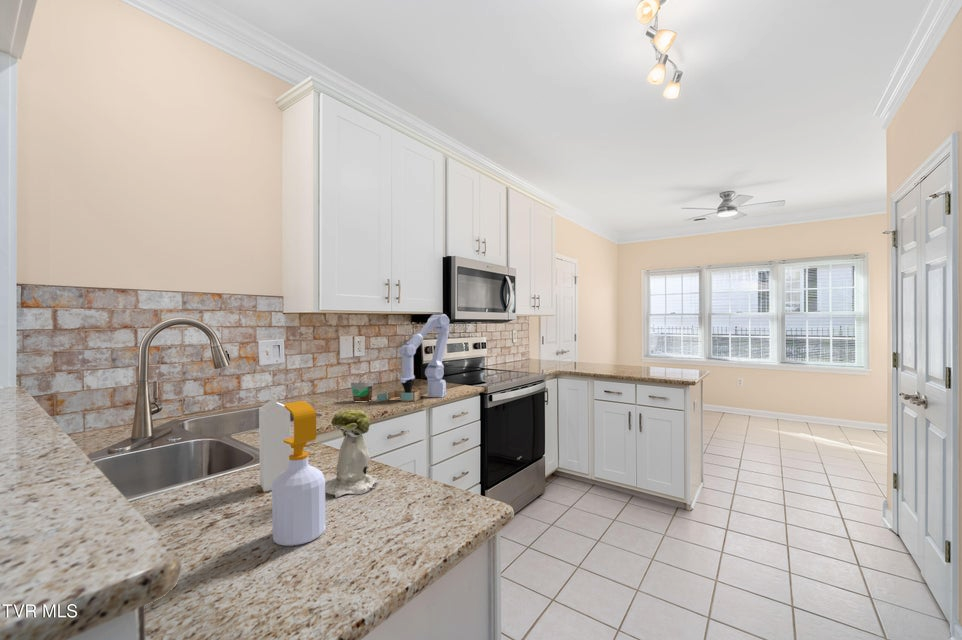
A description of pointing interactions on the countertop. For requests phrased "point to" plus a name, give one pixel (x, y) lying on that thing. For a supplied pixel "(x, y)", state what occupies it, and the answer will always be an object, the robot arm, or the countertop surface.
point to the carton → (398, 392)
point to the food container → (362, 391)
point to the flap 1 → (381, 396)
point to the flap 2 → (406, 396)
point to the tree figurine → (351, 455)
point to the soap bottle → (299, 486)
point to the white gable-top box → (273, 442)
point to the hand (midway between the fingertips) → (408, 395)
